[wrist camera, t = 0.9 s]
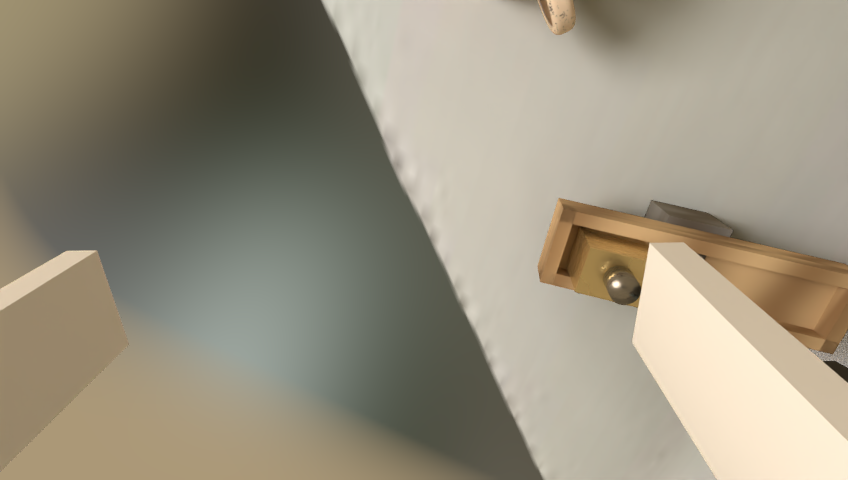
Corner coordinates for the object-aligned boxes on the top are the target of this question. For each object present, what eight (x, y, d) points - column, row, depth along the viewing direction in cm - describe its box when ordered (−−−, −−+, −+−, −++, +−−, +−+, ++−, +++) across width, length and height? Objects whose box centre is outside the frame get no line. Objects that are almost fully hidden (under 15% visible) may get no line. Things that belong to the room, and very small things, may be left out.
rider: (643, 241, 29) (673, 276, 24) (628, 280, 30) (653, 323, 25) (579, 226, 30) (595, 258, 24) (566, 265, 31) (578, 304, 25)
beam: (809, 236, 33) (881, 273, 26) (770, 309, 35) (828, 360, 29) (555, 178, 34) (565, 200, 28) (532, 252, 36) (538, 288, 30)
